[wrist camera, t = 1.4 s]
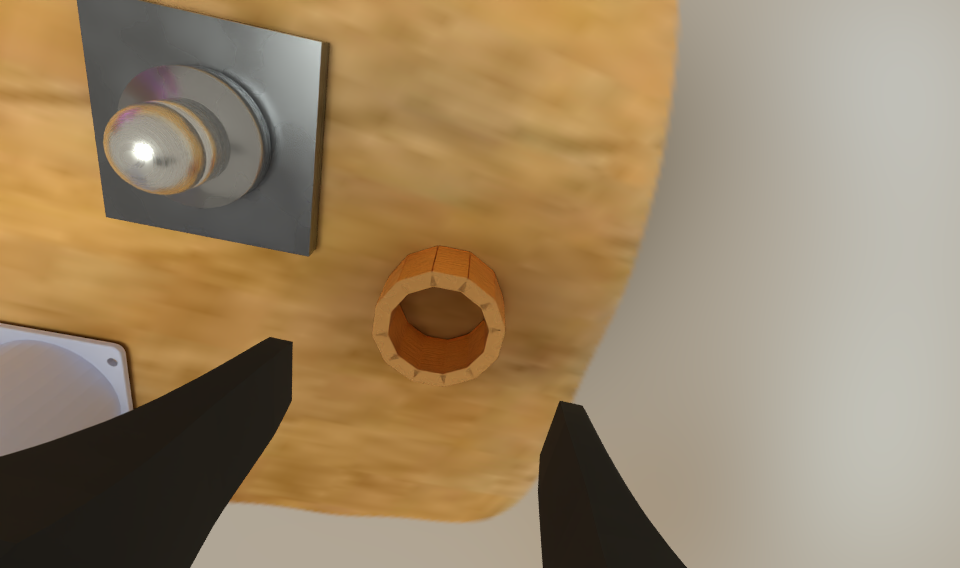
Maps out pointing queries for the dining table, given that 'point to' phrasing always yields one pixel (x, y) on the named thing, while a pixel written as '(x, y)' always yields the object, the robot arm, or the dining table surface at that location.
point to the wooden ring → (430, 354)
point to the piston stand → (206, 122)
